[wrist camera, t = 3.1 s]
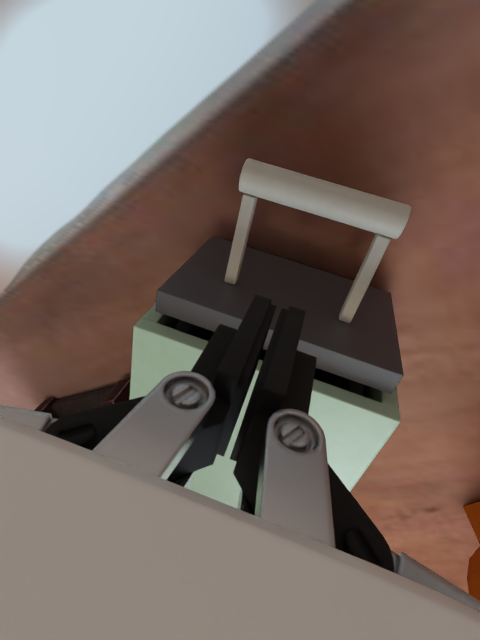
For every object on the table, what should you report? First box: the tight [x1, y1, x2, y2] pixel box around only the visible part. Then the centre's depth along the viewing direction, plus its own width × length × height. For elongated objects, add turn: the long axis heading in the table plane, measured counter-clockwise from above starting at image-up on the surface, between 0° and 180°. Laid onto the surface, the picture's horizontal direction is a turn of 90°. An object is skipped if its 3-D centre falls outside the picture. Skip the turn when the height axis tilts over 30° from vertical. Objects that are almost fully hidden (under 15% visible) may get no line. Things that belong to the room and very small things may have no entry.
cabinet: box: [129, 303, 401, 508], centre depth 24 cm, size 16×13×10 cm
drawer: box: [155, 158, 411, 396], centre depth 22 cm, size 20×11×8 cm, turn 168°
